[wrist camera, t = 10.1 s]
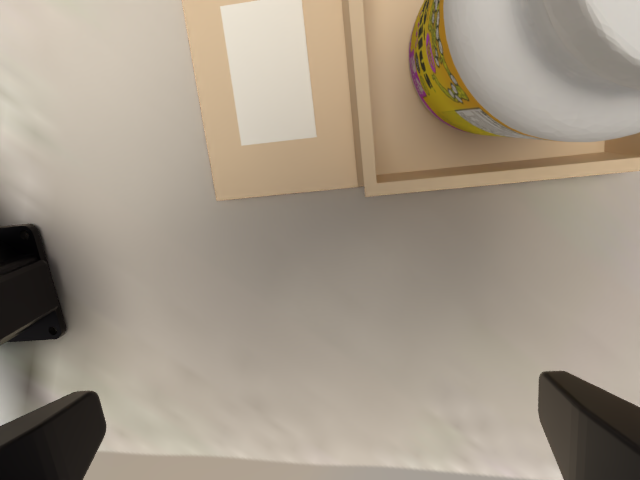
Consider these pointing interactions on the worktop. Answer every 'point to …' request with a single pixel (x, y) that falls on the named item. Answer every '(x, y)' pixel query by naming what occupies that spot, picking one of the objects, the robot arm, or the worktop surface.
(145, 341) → the worktop surface
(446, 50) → the supplement bottle
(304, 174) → the mailer box
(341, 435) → the worktop surface
